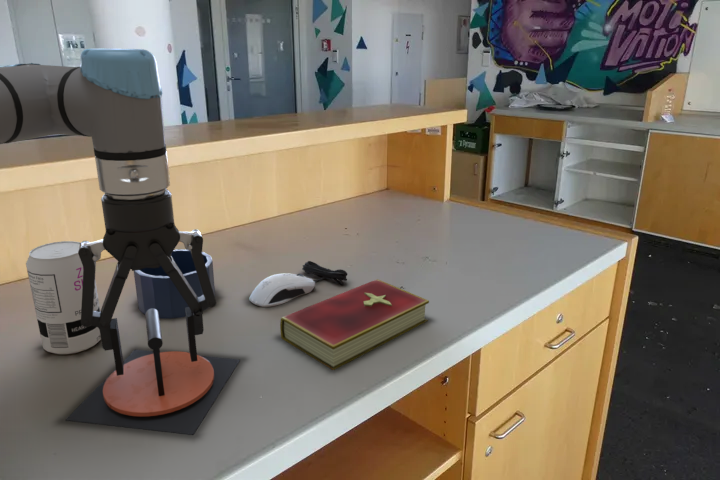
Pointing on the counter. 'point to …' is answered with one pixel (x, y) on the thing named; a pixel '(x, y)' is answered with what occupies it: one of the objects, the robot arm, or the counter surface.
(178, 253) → the lunch tin
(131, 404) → the lid
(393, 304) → the hardcover book
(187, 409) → the mat
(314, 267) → the computer mouse
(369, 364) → the counter surface
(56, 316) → the supplement can
